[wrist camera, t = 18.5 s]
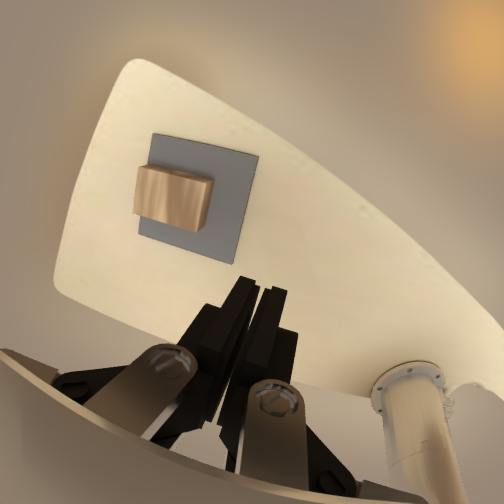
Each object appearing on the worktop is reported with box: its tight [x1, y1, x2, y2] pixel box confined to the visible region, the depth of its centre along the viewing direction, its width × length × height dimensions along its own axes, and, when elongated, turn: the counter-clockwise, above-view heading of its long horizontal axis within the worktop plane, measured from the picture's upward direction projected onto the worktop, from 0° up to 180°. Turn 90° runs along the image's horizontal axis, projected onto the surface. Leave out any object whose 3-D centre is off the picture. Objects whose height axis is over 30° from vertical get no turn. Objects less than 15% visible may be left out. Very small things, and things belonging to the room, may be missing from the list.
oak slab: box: [133, 164, 215, 233], centre depth 37 cm, size 3×6×9 cm
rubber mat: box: [138, 134, 259, 265], centre depth 39 cm, size 14×14×1 cm
